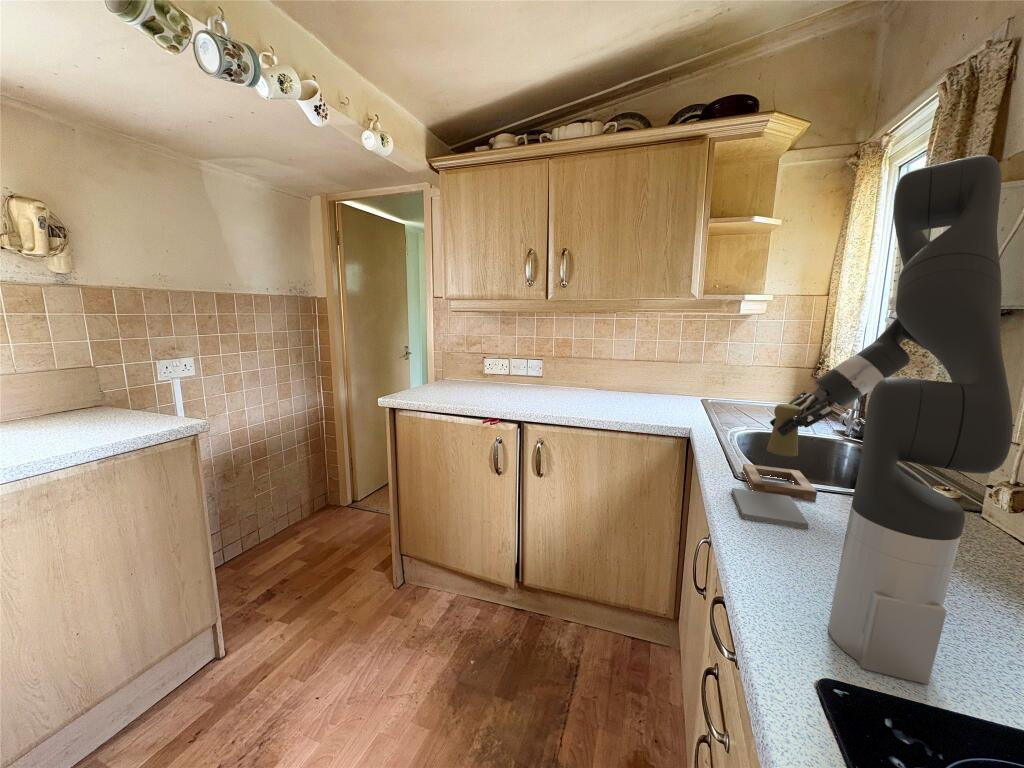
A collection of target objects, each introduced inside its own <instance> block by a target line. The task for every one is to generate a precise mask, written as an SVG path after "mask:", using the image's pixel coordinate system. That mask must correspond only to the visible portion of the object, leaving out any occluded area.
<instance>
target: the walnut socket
mask: <svg viewBox="0 0 1024 768" xmlns="http://www.w3.org/2000/svg"><path fill="white" fill-rule="evenodd" d="M742 469H743V471H744V473H745V475H746V477H747V479H748V481H747V483H748V482H749V483H748V485H749V484H750V485H749V487H750V486H751V487H750V489H751V488H752V489H751V491H752V490H753V491H758V492H765V493H772V494H779V495H786V496H790V497H791V498H795V499H803V500H810V501H817V496H818V490H817V489H816V488H814V486H813V485H812V484H811V482H809V480H808V479H807V478H806V476H804V474H803V473H802V472H801V471H800V470H797V469H789V468H781V467H772V466H765V465H758V464H757V465H756V464H750V463H749V464H747V463H743V464H742ZM760 475H762V476H770V475H771V476H770V477H777V478H782V479H787V480H786V481H789V480H791V481H794V482H791V481H790V482H791V483H783V482H776V481H767V480H763V479H762V477H760ZM747 479H746V480H747ZM782 479H781V480H782ZM792 483H794V485H793V484H792Z"/></svg>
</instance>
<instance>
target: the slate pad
mask: <svg viewBox="0 0 1024 768" xmlns="http://www.w3.org/2000/svg"><path fill="white" fill-rule="evenodd" d="M731 493H733V494H732V497H733V499H734V498H735V499H734V501H735V504H736V503H737V504H736V506H737V509H738V508H739V509H738V511H739V514H740V516H741V518H742V519H744V518H747V519H746V520H750V519H753V520H752V521H757V520H758V521H757V522H764V523H769V522H770V524H775V525H783V526H789V527H794V528H795V527H796V528H801V529H805V530H806V529H809V526H810V523H809V522H808V520H807V519H806V518H805V516H804V514H803V513H802V512H801V510H800V509H799V507H798V506H797V505H796V503H795V501H794V500H793V499H792V497H790V496H786V495H779V494H772V493H765V492H758V491H752V489H744V488H743V489H742V488H736V487H732V489H731Z"/></svg>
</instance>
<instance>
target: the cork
mask: <svg viewBox="0 0 1024 768" xmlns="http://www.w3.org/2000/svg"><path fill="white" fill-rule="evenodd" d="M799 408H800V407H798V406H795V405H791V404H788V403H780V404H777V405H776V406H775V408H774V412H773V413H774V416H775V418H776V420H775V424H774V427H773V426H772V427H773V428H772V431H771V433H770V437H769V439H768V443H767V448H766V451H767V452H769V453H771V454H775V455H778V456H783V457H797V456H799V427H798V428H796V429H794V430H793V431H791V432H790V433H788V434H787V435H785V436H782V435H781V434H780V433H779V432H778V431H777V430H776V428H777V427H778V426H780V425H781V424H783V423H784V422H786V421H787V420H789V419H790V418H791V419H792V417H793V416H794V415H795V414H797V413H798V409H799ZM792 420H793V419H792Z"/></svg>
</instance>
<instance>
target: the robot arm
mask: <svg viewBox="0 0 1024 768" xmlns="http://www.w3.org/2000/svg"><path fill="white" fill-rule="evenodd" d="M1001 192H1002V170H1001V167H1000V164H999V162H998V160H997V159H996V158H995V157H994V156H991V155H987V154H986V155H985V154H984V155H983V154H980V155H974V156H968V157H967V156H966V157H963V158H959V159H955V160H950V161H947V162H942V163H937V164H933V165H929V166H925V167H924V166H923V167H921V168H917V169H914V170H910V171H907V172H905V173H904V174H903V175H902V176H901V177H900V178H899V179H898V181H897V184H896V186H895V191H894V196H893V223H894V228H895V234H896V239H897V245H898V250H899V255H900V259H901V262H902V265H903V268H902V270H901V272H900V274H899V277H898V282H897V291H896V299H895V313H896V318H895V319H894V320H893V321H892V322H891V323H890V324H889V326H888V327H887V328H886V329H885V330H884V331H883V332H882V333H881V334H880V335H879V337H877V339H876V340H874V341H873V342H872V343H870V345H868V346H866V347H865V348H864V349H862V350H860V351H859V352H857V353H856V354H855V355H853V356H850V357H849V358H847V359H845V360H844V361H842V362H841V363H839V364H838V365H836V366H835V367H834V368H832V369H830V370H828V372H826V373H824V374H823V375H821V376H820V377H818V378H817V379H816V380H815V381H814V385H815V386H816V387H817V389H816V390H814V391H812V392H808V393H807V392H806V391H802V392H801V393H800V394H799V395H797V396H796V397H795V398H794V399H792V400H791V401H790V402H789V403H787V404H791V405H795V406H798V407H800V408H799V409H798V413H797V414H795V415H794V416H793V417H792V419H793V420H792V419H791V418H790V419H789V420H787V421H786V422H784V423H783V424H781V425H780V426H778V427H777V428H776V430H777V431H778V432H779V433H780V434H781V435H782V436H785V435H787V434H788V433H790V432H791V431H793V430H794V429H796V428H798V429H799V428H802V427H804V428H808V427H810V426H812V425H814V424H817V423H819V422H820V421H822V420H824V419H826V418H828V417H830V416H832V415H833V414H834V413H835V412H834V411H833V409H832V407H833V406H834V405H835V406H837V407H839V408H843V409H844V408H845V407H847V406H849V405H850V404H851V403H853V402H855V401H856V400H857V399H859V398H861V397H862V396H864V395H865V394H867V393H868V392H870V391H871V393H869V394H870V395H869V399H868V403H867V405H866V406H867V407H866V413H865V421H864V430H863V437H862V438H863V439H862V445H861V446H862V447H861V455H860V462H859V467H858V471H857V472H858V473H857V478H856V482H855V486H854V487H855V488H854V491H853V495H852V496H853V497H852V499H851V504H850V505H851V506H850V509H849V510H850V511H849V514H848V520H847V526H846V530H845V535H844V540H843V545H842V550H841V551H842V552H841V556H840V561H839V567H838V572H837V576H836V583H835V587H834V593H833V599H832V603H831V604H832V605H831V610H830V616H829V622H828V625H827V629H828V633H829V635H830V637H831V638H832V639H833V641H834V642H835V643H836V645H837V646H838V647H839V648H840V649H842V650H843V651H844V652H845V653H846V654H848V655H849V656H851V657H852V658H853V659H855V661H856V662H857V664H859V665H858V666H860V668H861V669H863V670H867V671H871V672H874V673H879V674H883V675H887V676H891V677H895V678H899V679H903V680H908V681H910V682H916V683H918V684H919V683H921V684H924V685H929V684H930V683H929V682H930V679H931V675H932V672H933V667H934V663H935V660H936V655H937V651H938V648H939V644H940V641H941V636H942V632H943V629H944V624H945V622H946V621H945V619H946V617H947V609H945V606H944V603H945V600H946V596H947V591H948V588H949V583H950V580H951V577H952V576H951V575H952V573H953V572H952V571H953V569H954V566H955V565H954V564H955V561H956V558H957V553H958V549H959V544H960V542H961V537H962V535H963V530H964V526H965V522H966V514H965V511H964V509H963V507H961V506H960V504H959V503H957V502H956V500H953V499H951V498H950V497H949V496H947V495H945V494H943V493H941V492H939V491H937V490H935V489H933V488H930V487H929V486H927V485H924V484H922V483H920V482H919V481H917V480H915V479H914V478H912V477H910V476H909V475H907V474H906V473H905V472H903V470H901V469H900V467H898V466H897V463H898V462H899V461H902V462H904V463H905V462H906V463H911V464H916V465H920V466H921V465H923V466H927V467H934V468H937V469H938V468H939V469H944V470H949V471H956V472H961V473H966V474H967V473H968V474H979V475H980V474H981V475H982V474H984V475H985V474H988V473H992V472H995V471H996V470H998V469H1000V467H1001V466H1002V465H1003V464H1004V462H1005V461H1006V460H1007V458H1008V457H1009V452H1010V449H1011V445H1012V442H1013V441H1012V440H1013V428H1014V426H1013V425H1014V424H1013V423H1014V422H1013V418H1014V417H1013V410H1012V403H1011V396H1010V395H1011V394H1010V389H1009V384H1008V378H1007V373H1006V369H1005V362H1004V358H1003V357H1004V356H1003V350H1002V341H1001V340H1002V339H1001V338H1002V337H1001V317H1002V316H1001V313H1002V294H1003V293H1002V272H1001V264H1000V263H1001V262H1000V261H1001V260H1000V253H999V242H998V224H999V223H998V220H999V212H1000V203H1001V202H1000V201H1001ZM944 227H945V228H946V227H948V228H947V229H946V230H945V231H943V232H942V233H940V234H939V235H938V236H936V237H935V238H934V239H932V240H930V239H929V238H928V236H926V234H925V232H924V231H925V230H931V229H933V230H934V229H938V228H944ZM906 339H907V340H909V341H910V342H912V343H914V344H915V345H917V346H919V347H920V348H921V349H924V350H926V351H928V352H930V353H931V355H933V356H934V358H935V359H936V360H937V361H939V362H940V364H941V365H942V366H943V367H944V369H945V370H946V372H947V374H948V375H949V377H950V378H949V379H951V381H939V380H931V379H929V380H928V379H919V378H908V377H907V378H906V377H896V376H895V377H891V376H893V375H894V374H896V373H897V372H899V371H900V370H902V369H903V368H905V367H906V366H907V365H908V364H910V361H911V357H910V355H909V353H908V352H907V351H906V350H905V349H904V348H903V347H902V346H901V344H902V342H903V341H905V340H906ZM775 420H776V417H774V418H773V419H771V420H770V421H769V424H770V426H772V427H774V424H775Z"/></svg>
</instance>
